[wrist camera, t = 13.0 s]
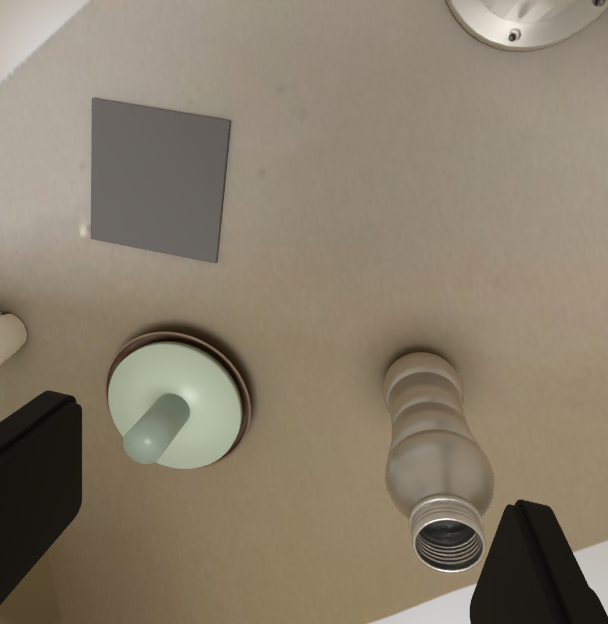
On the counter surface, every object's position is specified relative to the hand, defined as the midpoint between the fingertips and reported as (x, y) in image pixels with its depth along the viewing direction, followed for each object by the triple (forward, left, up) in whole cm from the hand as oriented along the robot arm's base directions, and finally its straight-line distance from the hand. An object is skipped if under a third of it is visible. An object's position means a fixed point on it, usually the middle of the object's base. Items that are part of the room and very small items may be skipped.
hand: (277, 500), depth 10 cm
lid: (+18, -14, -30) cm, 38 cm away
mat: (-2, -18, -32) cm, 37 cm away
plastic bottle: (+11, +8, -32) cm, 35 cm away
